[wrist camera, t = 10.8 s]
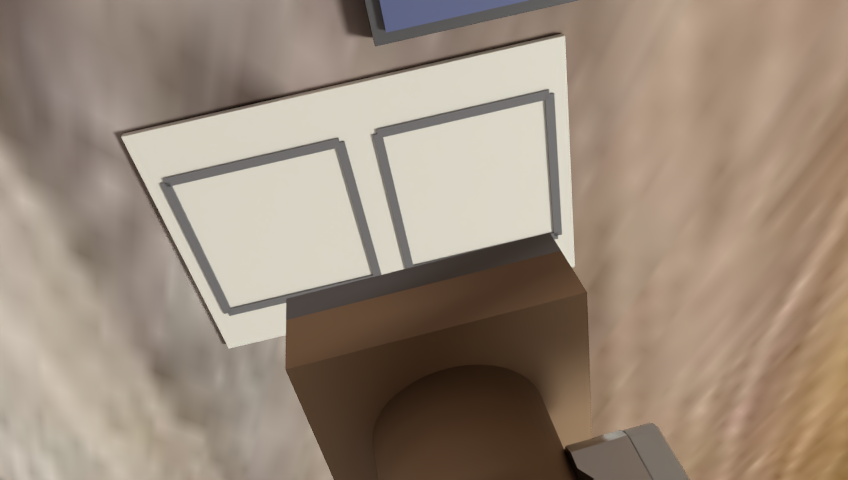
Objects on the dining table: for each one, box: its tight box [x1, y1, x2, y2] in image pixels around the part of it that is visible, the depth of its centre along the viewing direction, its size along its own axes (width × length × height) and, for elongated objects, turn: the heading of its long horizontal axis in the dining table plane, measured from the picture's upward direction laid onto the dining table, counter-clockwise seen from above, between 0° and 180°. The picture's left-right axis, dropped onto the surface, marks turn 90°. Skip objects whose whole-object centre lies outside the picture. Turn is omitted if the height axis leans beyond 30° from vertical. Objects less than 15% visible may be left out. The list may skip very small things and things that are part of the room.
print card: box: [121, 34, 575, 348], centre depth 29 cm, size 18×12×1 cm, turn 100°
